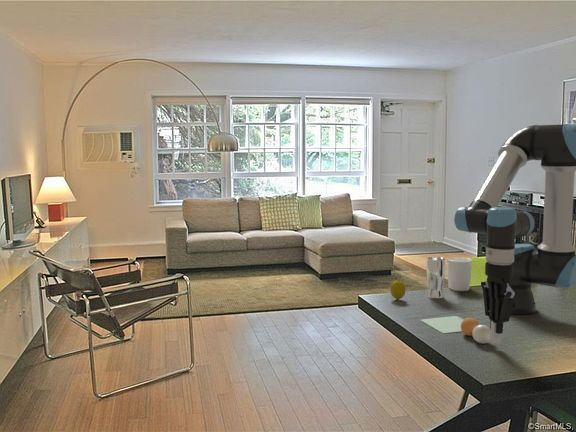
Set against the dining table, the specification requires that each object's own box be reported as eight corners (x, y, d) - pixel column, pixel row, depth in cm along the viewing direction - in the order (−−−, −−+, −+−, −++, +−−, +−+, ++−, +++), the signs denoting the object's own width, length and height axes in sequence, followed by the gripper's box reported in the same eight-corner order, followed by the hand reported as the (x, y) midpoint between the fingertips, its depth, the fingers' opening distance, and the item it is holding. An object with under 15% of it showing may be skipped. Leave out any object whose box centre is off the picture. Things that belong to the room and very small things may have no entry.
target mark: (456, 316, 191) (456, 315, 191) (481, 329, 177) (481, 328, 177) (419, 320, 187) (419, 319, 187) (443, 333, 173) (443, 333, 173)
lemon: (405, 302, 207) (405, 281, 206) (390, 301, 208) (390, 280, 207) (405, 298, 213) (405, 278, 212) (390, 297, 214) (390, 277, 213)
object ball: (474, 336, 174) (470, 318, 176) (485, 333, 169) (480, 315, 171) (459, 337, 172) (455, 320, 174) (469, 335, 167) (465, 317, 169)
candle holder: (442, 285, 232) (443, 257, 230) (465, 285, 233) (466, 256, 231) (451, 291, 222) (452, 262, 221) (475, 291, 223) (476, 261, 221)
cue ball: (499, 335, 162) (490, 344, 166) (488, 319, 165) (480, 328, 169) (484, 339, 160) (475, 348, 164) (473, 323, 163) (465, 332, 167)
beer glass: (434, 300, 211) (435, 261, 209) (421, 295, 217) (423, 257, 215) (448, 297, 214) (449, 259, 212) (435, 293, 220) (436, 256, 218)
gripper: (474, 258, 162) (470, 336, 165) (503, 268, 150) (499, 352, 153) (495, 257, 164) (492, 334, 167) (526, 266, 152) (522, 349, 155)
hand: (495, 342), depth 160 cm, fingers closed
